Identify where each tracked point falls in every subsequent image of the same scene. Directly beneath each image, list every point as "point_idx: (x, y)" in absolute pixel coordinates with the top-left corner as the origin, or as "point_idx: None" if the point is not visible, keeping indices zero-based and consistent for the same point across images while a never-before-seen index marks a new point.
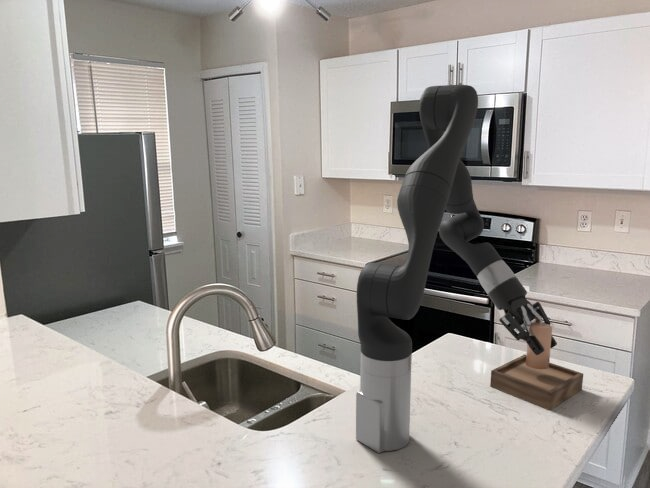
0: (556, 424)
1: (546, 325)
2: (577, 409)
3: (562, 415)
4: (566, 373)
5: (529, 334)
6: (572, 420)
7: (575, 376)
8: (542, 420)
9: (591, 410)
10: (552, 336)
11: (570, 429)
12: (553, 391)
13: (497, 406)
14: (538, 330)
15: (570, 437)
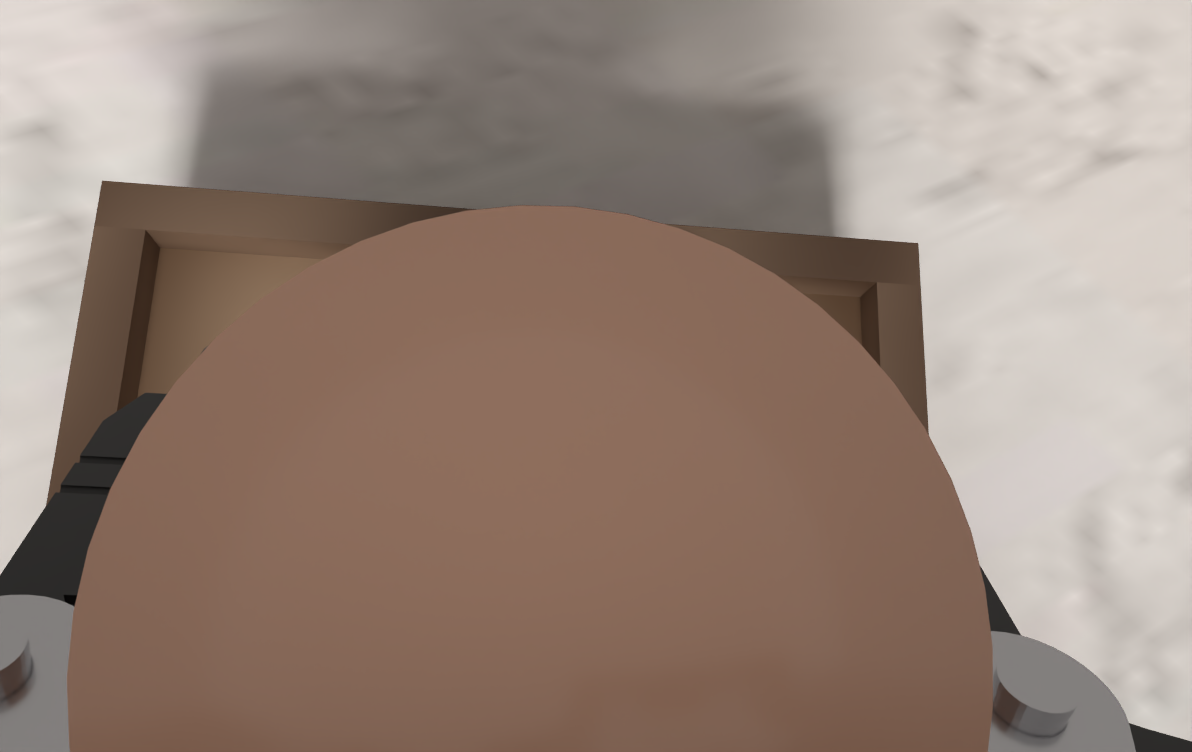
0: (999, 185)
1: (291, 492)
2: (614, 157)
3: (822, 207)
4: (151, 386)
5: (1099, 709)
6: (835, 119)
7: (266, 220)
8: (1035, 290)
9: (538, 67)
10: (68, 479)
11: (980, 82)
12: (866, 243)
13: (1156, 711)
14: (944, 497)
15: (1084, 43)
